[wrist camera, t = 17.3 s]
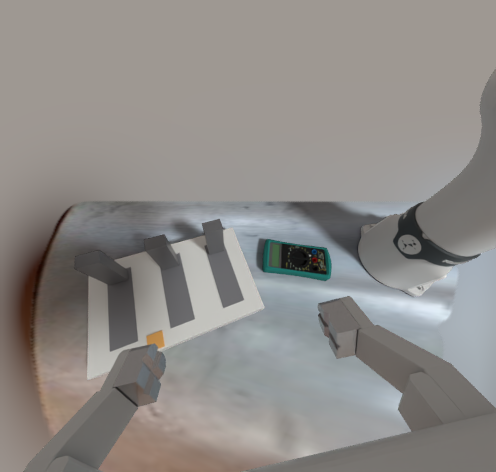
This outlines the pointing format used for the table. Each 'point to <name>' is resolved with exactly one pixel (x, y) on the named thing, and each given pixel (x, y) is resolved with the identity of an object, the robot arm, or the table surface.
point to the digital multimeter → (296, 260)
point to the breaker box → (168, 300)
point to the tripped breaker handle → (161, 252)
